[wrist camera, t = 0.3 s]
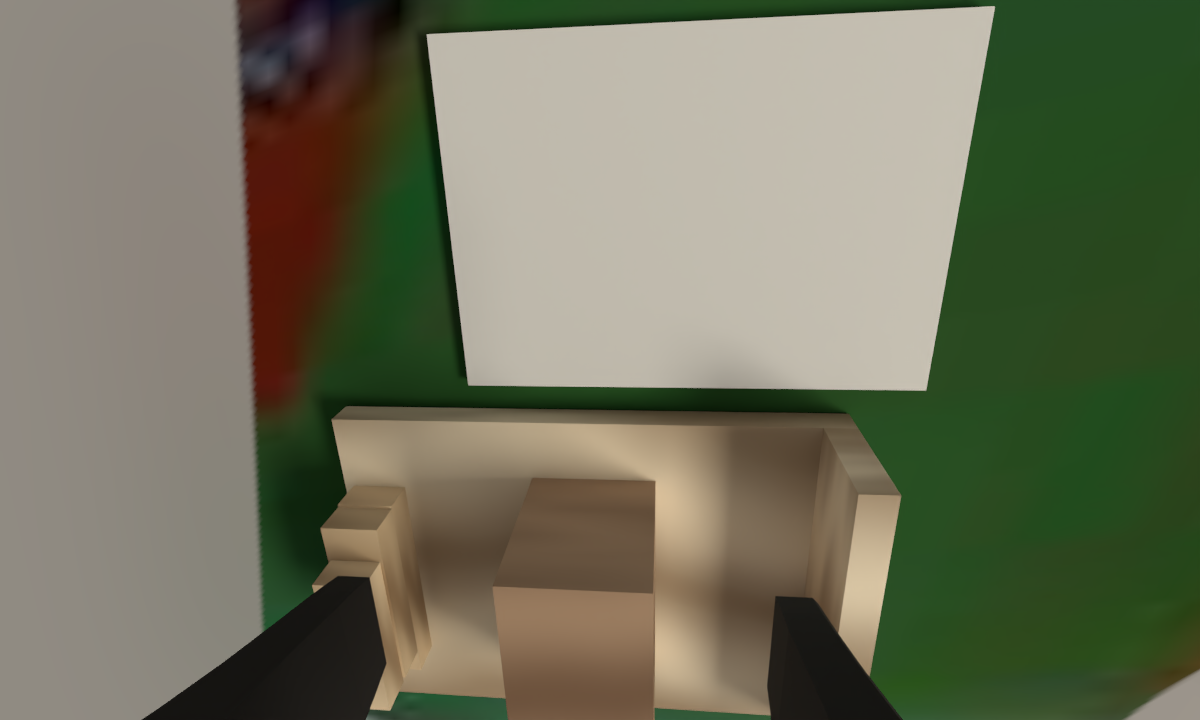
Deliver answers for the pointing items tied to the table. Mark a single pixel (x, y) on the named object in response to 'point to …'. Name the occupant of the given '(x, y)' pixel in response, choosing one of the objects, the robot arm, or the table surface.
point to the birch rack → (682, 529)
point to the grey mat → (707, 197)
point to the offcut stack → (382, 576)
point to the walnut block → (579, 602)
